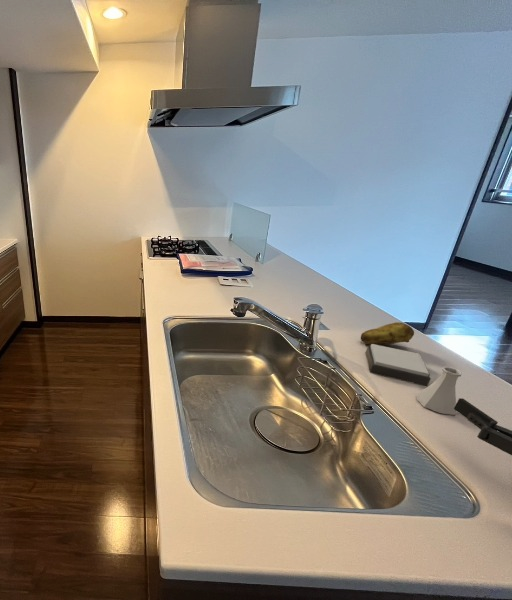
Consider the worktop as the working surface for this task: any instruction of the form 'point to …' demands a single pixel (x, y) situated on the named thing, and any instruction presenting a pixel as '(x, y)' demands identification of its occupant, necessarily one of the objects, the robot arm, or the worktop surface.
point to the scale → (397, 364)
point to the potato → (388, 334)
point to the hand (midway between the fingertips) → (492, 403)
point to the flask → (441, 392)
